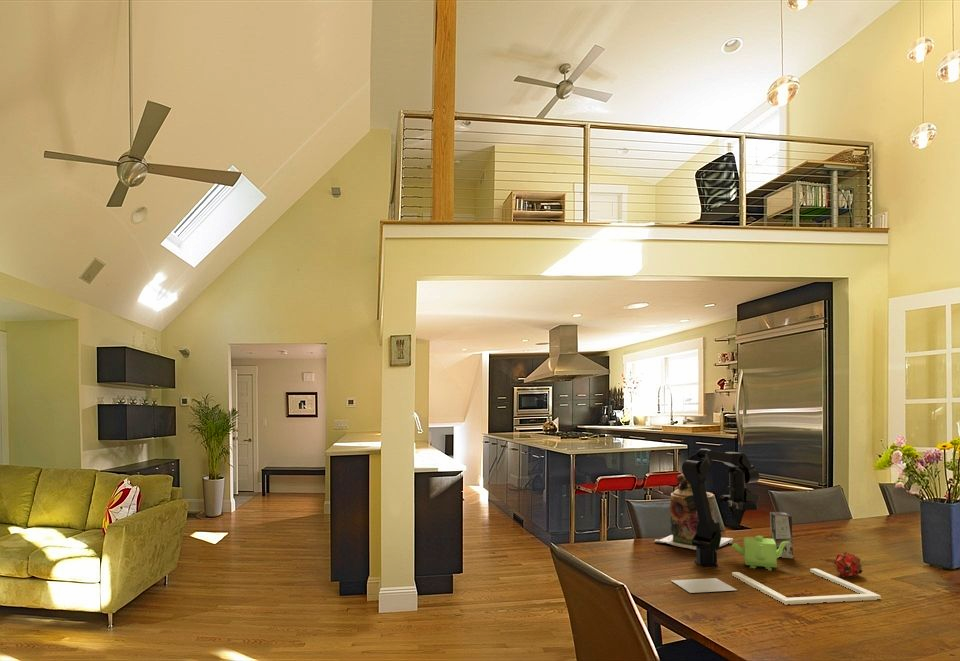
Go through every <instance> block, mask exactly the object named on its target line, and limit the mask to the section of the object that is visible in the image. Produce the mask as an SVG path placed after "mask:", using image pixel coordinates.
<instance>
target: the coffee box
mask: <svg viewBox="0 0 960 661" xmlns="http://www.w3.org/2000/svg"><path fill="white" fill-rule="evenodd" d="M792 517H793V516H792V515H791V514H789V513H787V512H786V511H769V522H770V523H769V524H770V525H769V526H770V527H769V528H770V539H774V541H775V543H776V550H778V549H779V547H780V544H781V543H782V542H784V541H787V542H789V543H787V544H786V545H785V546H784V548H783V551H782V554H781V556H780V557H782V558H783V559H793V558H794V543H793V518H792Z"/></svg>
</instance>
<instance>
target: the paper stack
mask: <svg viewBox="0 0 960 661" xmlns="http://www.w3.org/2000/svg"><path fill="white" fill-rule="evenodd" d="M671 582H672V583H674V584H675V585H677V586H679V588H681V589H683V590H684V591H686V592H688V593H690V594H692V593H693V594H694V593H695V594H696V593H710V592H711V593H712V592H727V591H738V589H736V588H735V587H733V586H731V585H729V584H727V583H726V582H724V581H722V580H720V579H718V578H716V577H713V578H712V577H709V578H694V579H693V578H690V579H671Z"/></svg>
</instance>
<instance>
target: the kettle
mask: <svg viewBox="0 0 960 661" xmlns="http://www.w3.org/2000/svg"><path fill="white" fill-rule="evenodd" d="M787 543H789V542H787V541H784V542H782V543H781V544H780V547H779V549H778V550H776V543H775V541H774V539H771V538H767V537H766V538H765V537H764V536H763V535H755V537H751V536H750V537H749V536H743V547H742V546H741V545H739V544H738V543H737V542H733V544H731V547H732V548H733V549H735V550H736V551H738V553H740V554H741V555H743V559H744V565H745V566H749V569H750V568H756V569H757V567H764V568H765V570H766V569H768V570H767V571H770V570H769V569H772V568H778V564H777V563H778V562H777V559H778V558H779V557H780V556H781V554H782V551H783V548H784V546H785V545H786V544H787ZM772 570H773V569H772Z"/></svg>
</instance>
